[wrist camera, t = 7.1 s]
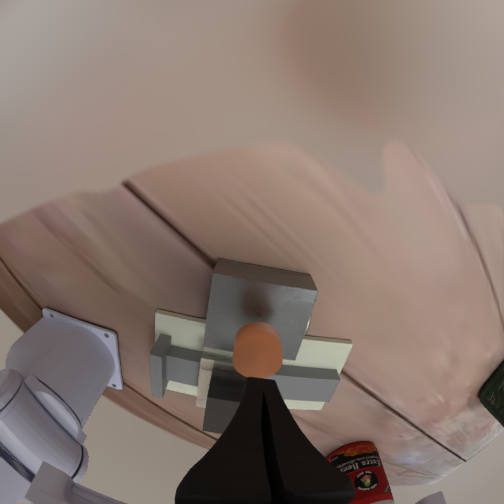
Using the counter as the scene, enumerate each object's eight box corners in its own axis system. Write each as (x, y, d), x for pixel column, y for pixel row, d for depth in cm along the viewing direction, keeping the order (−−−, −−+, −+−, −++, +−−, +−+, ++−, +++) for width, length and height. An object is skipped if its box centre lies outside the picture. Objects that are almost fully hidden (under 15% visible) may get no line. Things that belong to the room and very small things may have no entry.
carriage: (199, 388, 24) (189, 433, 18) (205, 340, 22) (193, 386, 17) (252, 397, 24) (251, 442, 18) (265, 350, 22) (267, 398, 17)
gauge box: (208, 325, 22) (202, 346, 19) (218, 257, 21) (212, 272, 18) (294, 338, 23) (298, 361, 20) (313, 274, 21) (321, 291, 18)
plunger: (231, 354, 17) (229, 374, 15) (238, 318, 16) (236, 337, 14) (274, 360, 17) (276, 381, 15) (285, 325, 16) (288, 345, 14)
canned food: (381, 435, 28) (403, 497, 17) (368, 461, 30) (383, 515, 20) (328, 446, 28) (341, 514, 18) (320, 470, 30) (329, 528, 20)
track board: (157, 382, 25) (147, 407, 21) (157, 309, 22) (142, 332, 19) (319, 406, 25) (325, 431, 22) (351, 340, 23) (363, 365, 19)
